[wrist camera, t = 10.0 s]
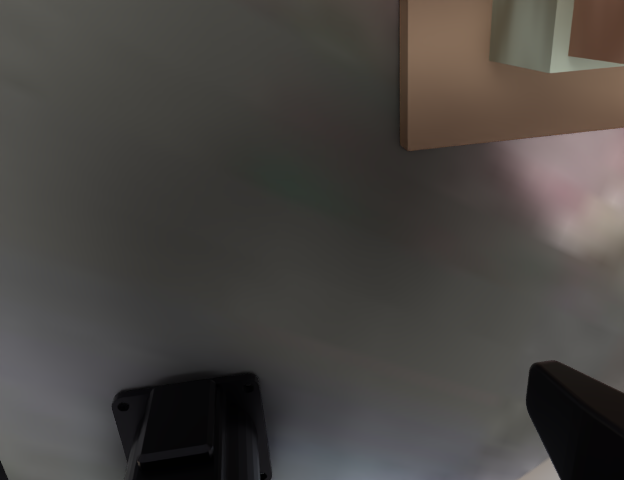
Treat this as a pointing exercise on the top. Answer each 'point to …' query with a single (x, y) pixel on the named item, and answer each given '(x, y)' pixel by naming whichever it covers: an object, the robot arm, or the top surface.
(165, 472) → the robot arm
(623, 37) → the top block
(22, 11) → the top surface
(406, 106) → the tan square base
